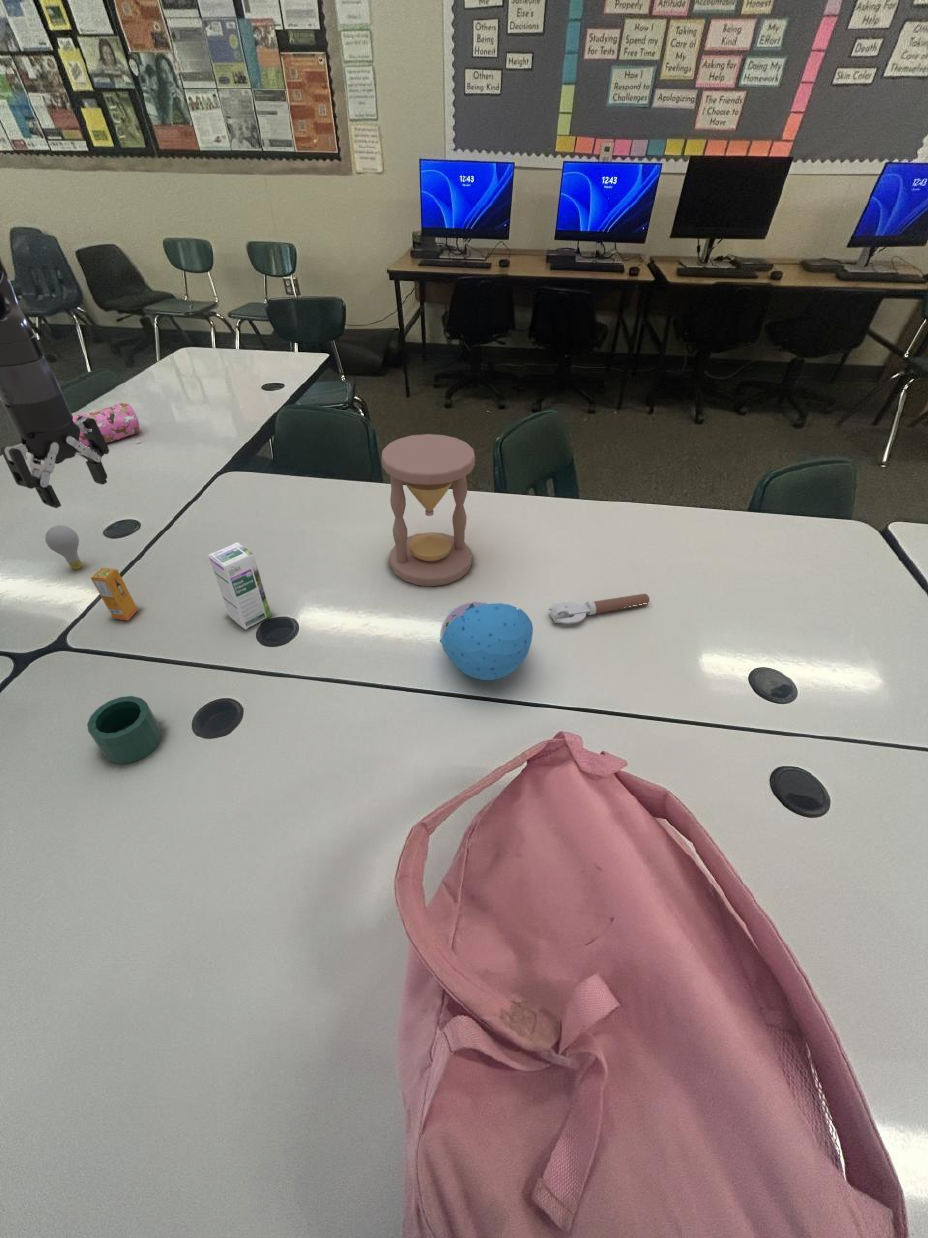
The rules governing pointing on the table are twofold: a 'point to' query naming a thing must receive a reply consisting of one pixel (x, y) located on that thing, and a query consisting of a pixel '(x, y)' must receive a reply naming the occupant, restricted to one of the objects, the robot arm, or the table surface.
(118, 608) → the supplement box
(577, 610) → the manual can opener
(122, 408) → the pencil case
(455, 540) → the hourglass
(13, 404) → the robot arm
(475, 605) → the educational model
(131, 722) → the green pipe cap
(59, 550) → the light bulb
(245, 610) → the syrup box
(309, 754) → the table surface
